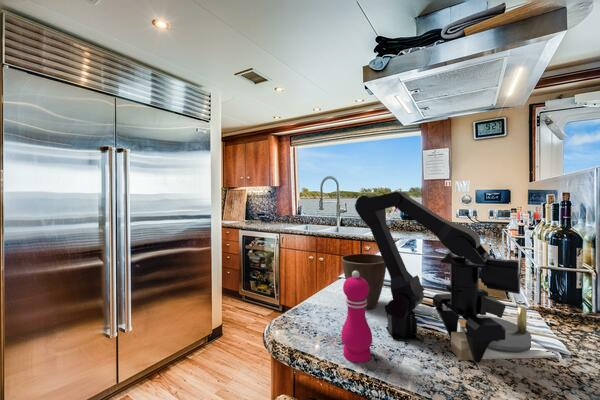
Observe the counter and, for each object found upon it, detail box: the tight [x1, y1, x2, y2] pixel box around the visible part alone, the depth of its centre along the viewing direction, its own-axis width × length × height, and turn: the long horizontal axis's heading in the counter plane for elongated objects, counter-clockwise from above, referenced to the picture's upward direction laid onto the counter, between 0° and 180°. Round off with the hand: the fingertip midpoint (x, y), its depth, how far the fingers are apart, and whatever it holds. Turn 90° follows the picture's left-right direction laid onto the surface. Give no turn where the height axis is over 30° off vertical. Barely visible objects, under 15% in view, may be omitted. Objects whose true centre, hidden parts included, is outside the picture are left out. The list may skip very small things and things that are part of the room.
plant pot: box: [341, 253, 387, 310], centre depth 95 cm, size 15×15×16 cm
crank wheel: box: [458, 306, 532, 352], centre depth 72 cm, size 15×15×8 cm
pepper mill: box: [340, 271, 373, 364], centre depth 66 cm, size 7×7×20 cm
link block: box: [450, 332, 474, 361], centre depth 65 cm, size 4×4×4 cm
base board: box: [457, 321, 558, 360], centre depth 72 cm, size 17×17×1 cm
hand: (464, 350), depth 65 cm, fingers open, 9 cm apart
